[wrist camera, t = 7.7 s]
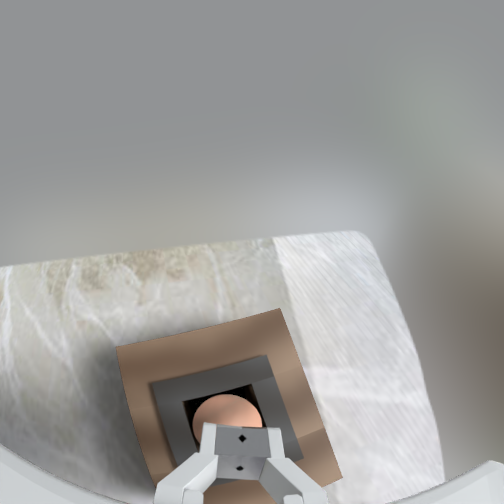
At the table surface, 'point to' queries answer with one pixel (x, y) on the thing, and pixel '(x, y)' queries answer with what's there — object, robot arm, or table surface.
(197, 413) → the peg
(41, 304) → the table surface
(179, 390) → the block
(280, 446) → the robot arm
